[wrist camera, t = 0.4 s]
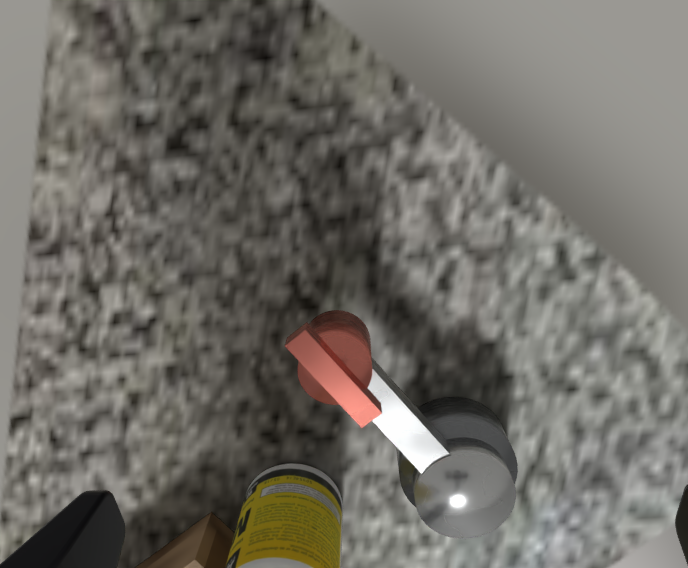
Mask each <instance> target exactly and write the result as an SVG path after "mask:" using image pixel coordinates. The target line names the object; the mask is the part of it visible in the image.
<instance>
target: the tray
mask: <svg viewBox="0 0 688 568" xmlns="http://www.w3.org/2000/svg"><path fill="white" fill-rule="evenodd" d="M234 534H235V533H234V532H233V531H232V530H230V529H229V528H228V527H227V526H226V525H225V524H224V523H223V522H222V521H221V520H220V519H219V518H217V517H216V516H215V515H214V514H213V513H212V512H211V513H209V514H208V515H207V516H205V517H204V518H203V519H201V520H200V521H198V522H197V523H196V524H194V525H193V526H192V527H190V528H189V529H187V530H186V531H185V532H183V533H182V534H181V535H179V536H178V537H177V538H175V539H174V540H172V541H171V542H170V543H168V544H167V545H166V546H164V547H163V548H162V549H160V550H159V551H157V552H156V553H155V554H153V555H152V556H151V557H149V558H148V559H147V560H145V561H144V562H142V563H141V564H140V565H138V566H137V567H136V568H225V567H226V563H227V560H228V556H229V552H230V549H231V545H232V541H233V537H234Z"/></svg>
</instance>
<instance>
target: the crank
mask: <svg viewBox="0 0 688 568" xmlns="http://www.w3.org/2000/svg"><path fill="white" fill-rule="evenodd" d="M285 347H286V348H287V349H288V350H289V351H290V352H291V353H292V354H293V355H294V356H295V357H296V359H297V360H298V361H299V363H298V378H299V381H300V383H301V386H302V387H303V389H304V390H305V391H306V392H307V393H308V394H309V395H310V396H311V397H312V398H314V399H316V400H317V401H320V402H322V403H326V404H331V405H339V404H340V405H341V406H342V407H343V408H344V410H345V411H346V412H347V413H348V414H349V415H350V416H351V417H352V418H353V419H354V420H355V421H356V422H357V423H358V424H359V425H360V427H361V428H362V427H364V426H365V425H366V424H368V423H369V422H371V421H373V422H374V423H375V424H376V425H377V426H378V428H379V429H380V430H381V431H382V432H383V433H384V434H385V435H386V436H387V437H388V438H389V439H390V440H391V441H392V443H393V444H394V445H395V446H396V447H397V448H398V449H399V450H400V451H401V452H402V453H403V454H404V455H405V456H406V458H407V459H408V460H409V461H410V462H411V463H412V464H413V465H414V466H415V468H414V471H413V477H412V482H413V490H414V497H415V503H416V508H417V511H418V513H419V515H420V517H421V519H422V520H423V521H424V522H425V524H426V525H428V526H429V527H430V528H431V529H433V530H434V531H436V532H438V533H440V534H442V535H445V536H448V537H453V538H473V537H478V536H481V535H484V534H487V533H489V532H491V531H493V530H495V529H496V528H497V527H499V526H500V525H501V524H502V523H503V522H504V521H505V520H506V519H507V518H508V516H509V515H510V513H511V512H512V509H513V507H514V504H515V499H516V490H515V485H514V482H513V479H512V477H511V475H510V472H509V470H508V467H507V465H506V463H505V461H504V459H503V457H502V456H501V454H500V453H499V452H498V451H497V450H496V449H495V448H494V447H492V446H491V445H489V444H488V443H486V442H484V441H481V440H478V439H474V438H468V437H458V438H451V439H447V440H446V439H445V438H444V437H443V436H442V435H441V434H440V433H439V432H438V430H437V429H436V428H435V427H434V426H433V425H432V424H431V423H430V422H429V420H428V419H427V418H426V417H425V416H424V415H423V414H422V413H421V412H420V410H419V409H418V408H417V407H416V406H415V405H414V404H413V403H412V402H411V400H410V399H409V398H408V397H407V396H406V395H405V394H404V393H403V391H402V390H401V389H400V388H399V387H398V386H397V385H396V384H395V383H394V381H393V380H392V379H391V378H390V377H389V376H388V375H387V374H386V373H385V371H384V370H383V369H382V368H381V367H380V366H379V365H378V364H377V363H376V361H375V360H374V359H373V358H372V357H371V344H370V335H369V332H368V329H367V327H366V325H365V324H364V323H363V322H362V321H361V320H360V319H359V318H358V317H357V316H355V315H353V314H351V313H349V312H345V311H340V310H334V311H328V312H325V313H322V314H320V315H318V316H317V317H316V318H314V319H313V320H312V321H311V323H310V324H308V323H307V322H306V323H305V324H304V325H303V326H301V327H300V328H299V329H298V330H296V331H295V332H294V333H293V334H291V335H290V336H289V337H287V340H286V344H285Z"/></svg>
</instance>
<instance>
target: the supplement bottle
mask: <svg viewBox="0 0 688 568" xmlns="http://www.w3.org/2000/svg"><path fill="white" fill-rule="evenodd" d="M342 523H343V503H342V498H341V495H340V492H339V490H338V488H337V486H336V485H335V483H334V482H333V481H332V480H331V479H330V478H329V477H328V476H327V475H326V474H324V473H323V472H321V471H320V470H318V469H316V468H313V467H311V466H307V465H303V464H282V465H278V466H274V467H272V468H269V469H267V470H265V471H264V472H262V473H261V474H259V475H258V476H257V477H256V478H255V479H254V480H253V482H252V483H251V484H250V486H249V488H248V490H247V492H246V495H245V498H244V501H243V505H242V508H241V513H240V516H239V520H238V523H237V527H236V531H235V534H234V537H233V541H232V545H231V549H230V552H229V556H228V560H227V563H226V567H225V568H341V551H342Z"/></svg>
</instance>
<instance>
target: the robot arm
mask: <svg viewBox="0 0 688 568" xmlns="http://www.w3.org/2000/svg"><path fill="white" fill-rule="evenodd" d="M675 525H676V532H677V535H678V538H679V541H680V544H681V547H682V550H683V553H684V556H685V559H686V562H687V564H688V485H686V487H685V489H684V492H683V495H682V498H681V502H680V505H679V508H678V511H677V514H676V519H675ZM124 537H125V523H124V520H123V517H122V515H121V513H120V510H119V508H118V505H117V503H116V501H115V498H114V496H113V494H112V493H111V492H109V491H106V490H100V491H86V492H84V493H82V494H80V495H79V496H78V497H77V498H76V499H75V500H73V501H72V502H71V503H70V504H69V505H68V506H66V507H65V508H64V509H63V510H62V511H61V512H60V513H58V514H57V515H56V516H55V517H54V518H53V519H52V520H50V521H49V522H48V523H47V524H46V525H45V526H44V527H42V528H41V529H40V530H39V531H38V532H37V533H35V534H34V535H33V536H32V537H31V538H30V539H29V540H27V541H26V542H25V543H24V544H23V545H22V546H21V547H19V548H18V549H17V550H16V551H15V552H14V553H13V554H11V555H10V556H9V557H8V558H7V559H6V560H5V561H3V562H2V563H1V564H0V568H117V564H118V561H119V557H120V553H121V549H122V545H123V541H124Z"/></svg>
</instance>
